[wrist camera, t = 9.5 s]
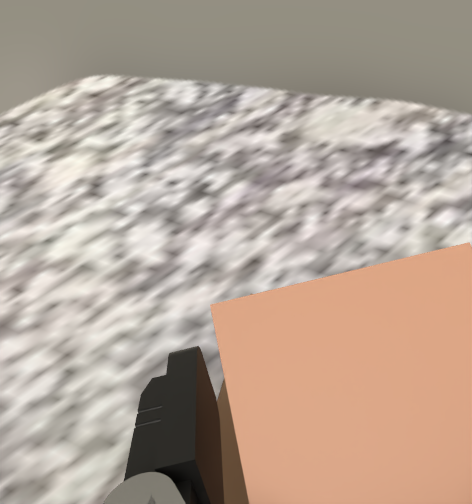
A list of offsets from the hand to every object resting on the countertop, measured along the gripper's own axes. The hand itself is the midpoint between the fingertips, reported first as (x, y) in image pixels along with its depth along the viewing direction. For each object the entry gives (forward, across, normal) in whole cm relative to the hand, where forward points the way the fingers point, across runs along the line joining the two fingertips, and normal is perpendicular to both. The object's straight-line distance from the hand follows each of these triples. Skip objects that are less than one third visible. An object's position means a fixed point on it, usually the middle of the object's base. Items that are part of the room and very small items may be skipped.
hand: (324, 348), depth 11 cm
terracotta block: (+3, 0, +5) cm, 6 cm away
